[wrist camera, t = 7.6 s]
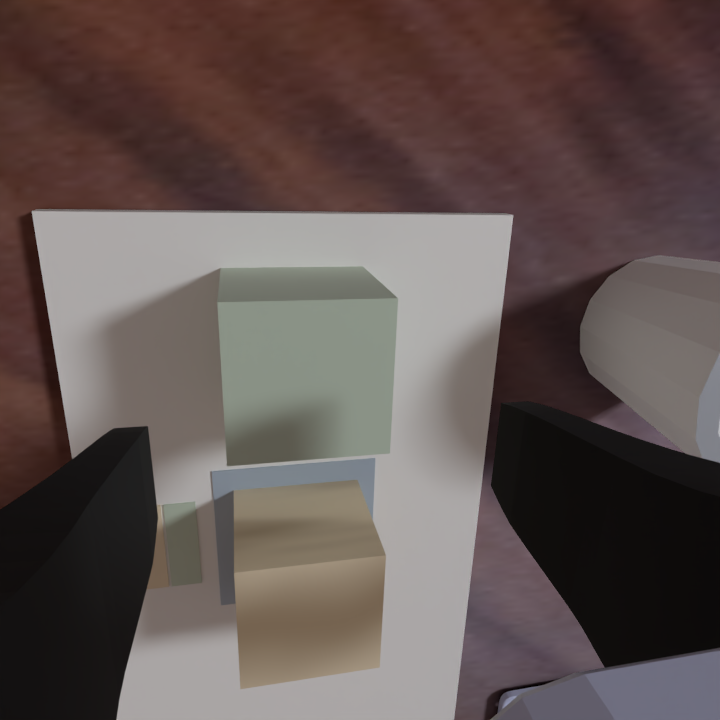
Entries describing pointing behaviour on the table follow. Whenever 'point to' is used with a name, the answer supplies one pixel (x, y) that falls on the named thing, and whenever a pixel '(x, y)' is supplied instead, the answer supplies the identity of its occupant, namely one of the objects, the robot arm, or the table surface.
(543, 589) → the table surface
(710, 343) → the white tumbler
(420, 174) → the table surface
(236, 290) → the sage block
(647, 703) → the robot arm
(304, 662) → the maple block
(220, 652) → the blueprint baseplate
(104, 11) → the table surface
